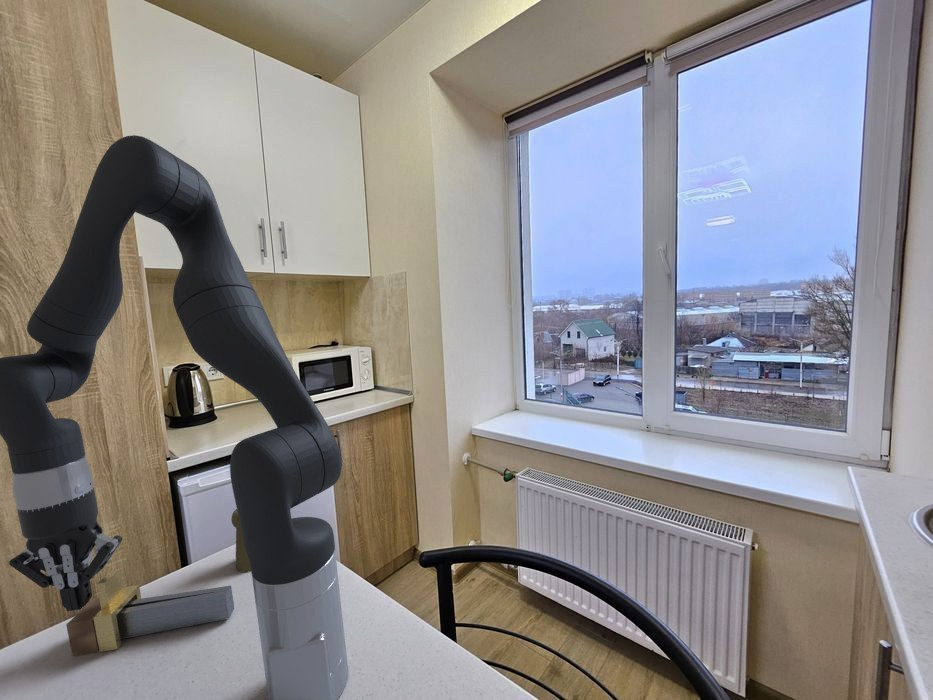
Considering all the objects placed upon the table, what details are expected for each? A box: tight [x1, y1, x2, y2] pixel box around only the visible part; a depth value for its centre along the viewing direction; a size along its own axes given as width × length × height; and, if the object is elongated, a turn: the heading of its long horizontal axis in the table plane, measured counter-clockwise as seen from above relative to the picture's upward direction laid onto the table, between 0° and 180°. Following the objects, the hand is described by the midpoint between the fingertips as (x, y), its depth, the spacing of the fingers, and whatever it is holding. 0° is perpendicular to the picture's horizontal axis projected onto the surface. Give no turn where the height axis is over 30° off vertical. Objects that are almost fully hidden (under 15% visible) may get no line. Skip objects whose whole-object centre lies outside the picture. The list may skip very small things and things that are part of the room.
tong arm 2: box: [122, 585, 235, 614], centre depth 60 cm, size 16×1×4 cm, turn 98°
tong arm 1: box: [116, 590, 233, 640], centre depth 58 cm, size 16×1×4 cm, turn 101°
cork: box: [231, 508, 251, 573], centre depth 73 cm, size 6×6×11 cm
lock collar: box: [93, 568, 142, 653], centre depth 58 cm, size 2×6×9 cm, turn 10°
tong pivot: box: [65, 597, 101, 657], centre depth 57 cm, size 3×5×5 cm, turn 10°
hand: (78, 606), depth 57 cm, fingers closed
